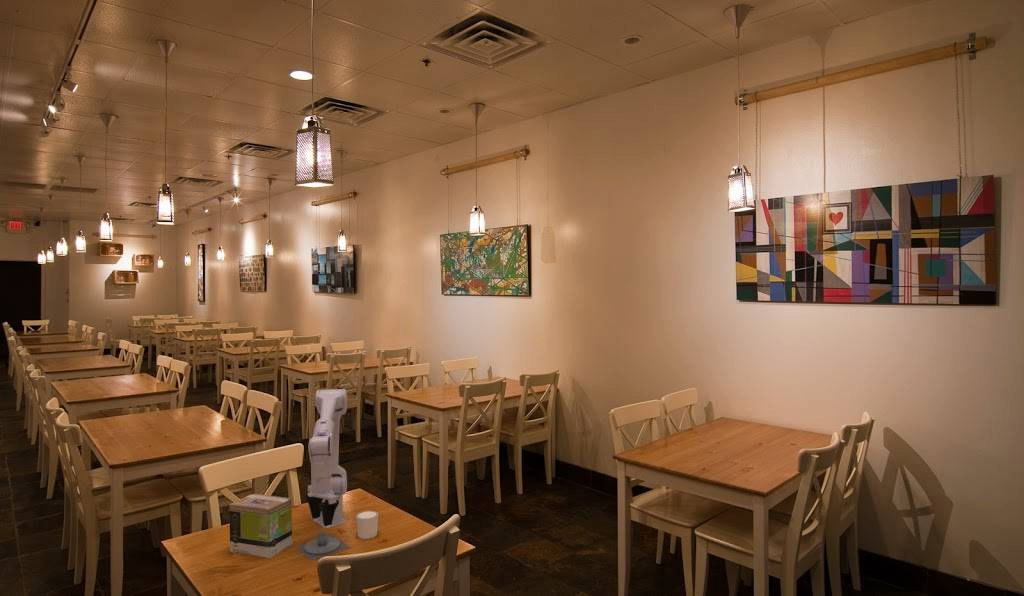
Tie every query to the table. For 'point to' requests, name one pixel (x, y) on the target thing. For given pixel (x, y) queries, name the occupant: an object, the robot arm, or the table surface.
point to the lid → (322, 544)
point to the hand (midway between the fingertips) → (322, 521)
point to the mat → (314, 557)
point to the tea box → (260, 525)
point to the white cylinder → (367, 524)
